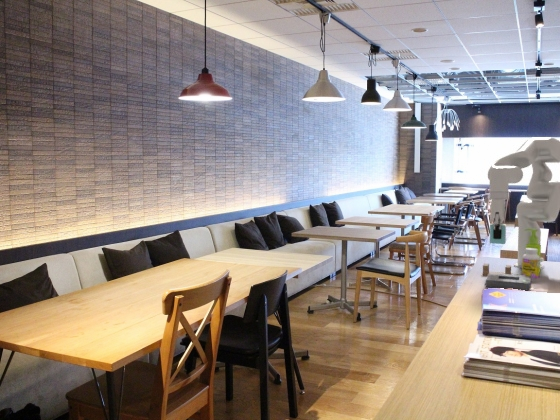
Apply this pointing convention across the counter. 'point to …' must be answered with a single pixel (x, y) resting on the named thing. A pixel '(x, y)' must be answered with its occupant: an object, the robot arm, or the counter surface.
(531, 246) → the soap dispenser
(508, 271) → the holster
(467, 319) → the counter surface
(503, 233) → the plug
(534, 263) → the supplement bottle
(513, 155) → the robot arm
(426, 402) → the counter surface
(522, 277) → the port
